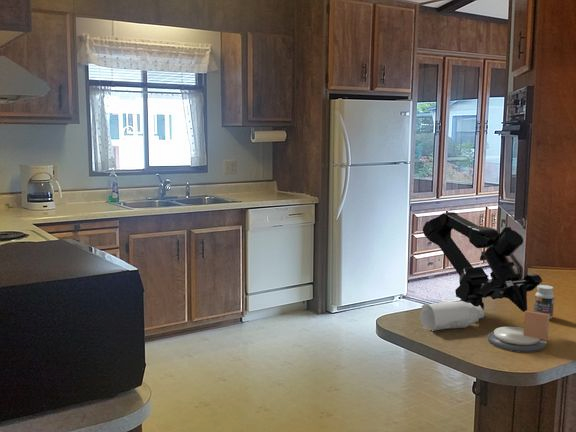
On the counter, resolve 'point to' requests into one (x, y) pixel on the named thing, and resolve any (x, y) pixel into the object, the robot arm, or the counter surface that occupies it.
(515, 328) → the dial
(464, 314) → the white bottle
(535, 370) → the counter surface
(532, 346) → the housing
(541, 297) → the pill bottle
